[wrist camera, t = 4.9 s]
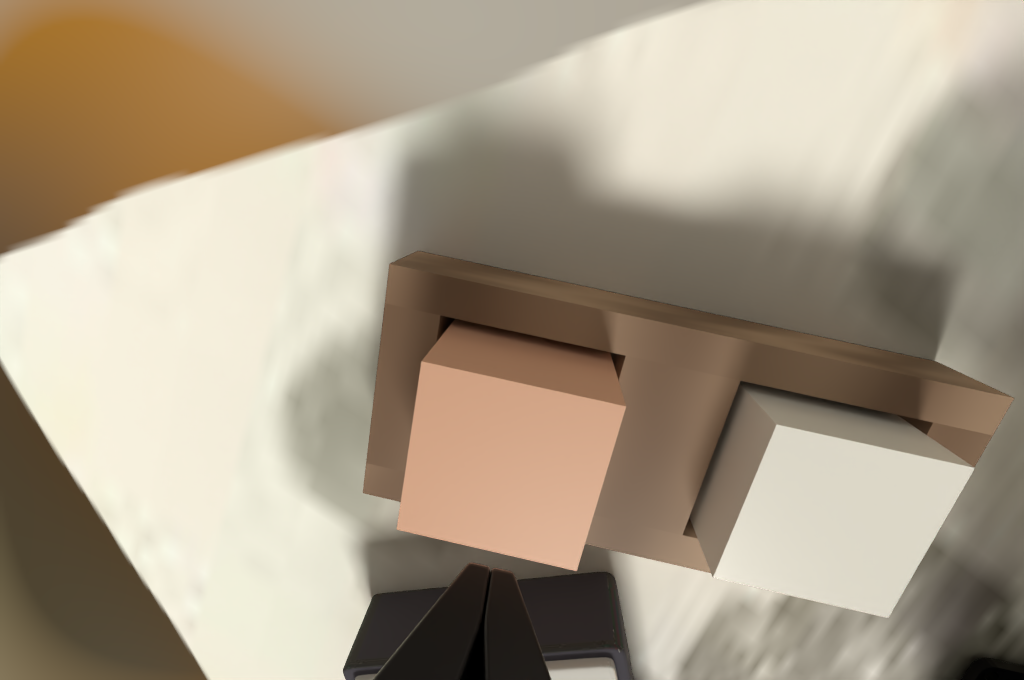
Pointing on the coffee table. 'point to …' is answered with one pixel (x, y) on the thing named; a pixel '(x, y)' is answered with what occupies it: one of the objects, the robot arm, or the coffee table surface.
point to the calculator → (553, 613)
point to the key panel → (653, 386)
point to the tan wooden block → (510, 443)
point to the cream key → (822, 499)
